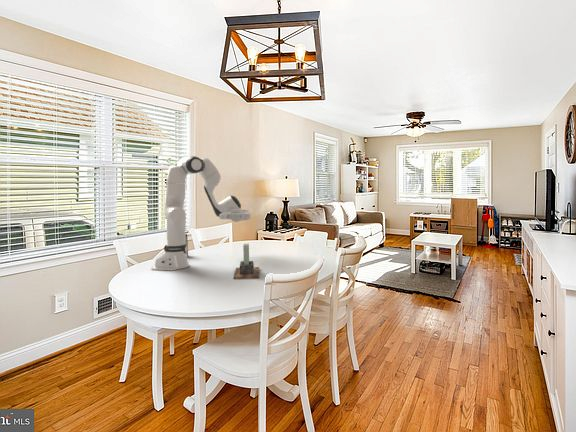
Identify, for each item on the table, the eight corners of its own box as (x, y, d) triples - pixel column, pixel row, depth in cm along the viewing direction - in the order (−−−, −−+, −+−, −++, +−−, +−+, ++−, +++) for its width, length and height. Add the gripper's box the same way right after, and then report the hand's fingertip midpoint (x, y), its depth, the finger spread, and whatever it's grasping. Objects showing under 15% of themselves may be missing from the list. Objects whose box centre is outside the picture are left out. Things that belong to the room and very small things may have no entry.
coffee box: (188, 255, 243) (187, 234, 241) (182, 257, 237) (181, 235, 235) (179, 254, 246) (178, 233, 245) (172, 256, 241) (171, 234, 239)
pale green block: (244, 273, 191) (243, 245, 189) (244, 270, 197) (243, 243, 195) (249, 272, 191) (248, 245, 189) (249, 270, 197) (248, 243, 195)
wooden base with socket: (233, 279, 184) (233, 268, 183) (236, 269, 203) (235, 259, 203) (258, 278, 185) (258, 267, 184) (259, 268, 204) (258, 258, 204)
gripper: (220, 210, 226) (217, 212, 212) (250, 210, 227) (249, 212, 214) (220, 220, 227) (217, 222, 213) (250, 219, 228) (250, 222, 214)
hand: (234, 217), depth 213 cm, fingers open, 8 cm apart
